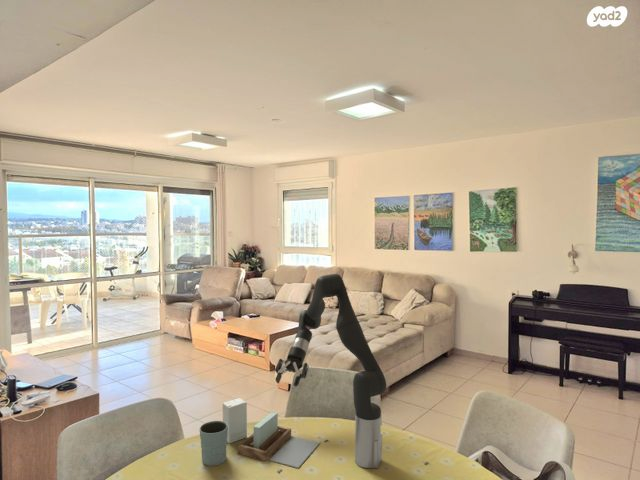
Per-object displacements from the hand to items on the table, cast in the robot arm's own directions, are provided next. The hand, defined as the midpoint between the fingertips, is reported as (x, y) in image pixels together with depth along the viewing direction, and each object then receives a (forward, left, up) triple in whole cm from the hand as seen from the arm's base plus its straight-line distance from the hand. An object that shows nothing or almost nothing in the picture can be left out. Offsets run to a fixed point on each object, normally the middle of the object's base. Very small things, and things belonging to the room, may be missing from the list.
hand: (286, 384), depth 175 cm
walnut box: (+1, +15, -19) cm, 24 cm away
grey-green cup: (+13, +32, -19) cm, 39 cm away
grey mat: (-12, +15, -19) cm, 27 cm away
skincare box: (+15, +16, -19) cm, 29 cm away
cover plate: (+1, +15, -19) cm, 24 cm away
